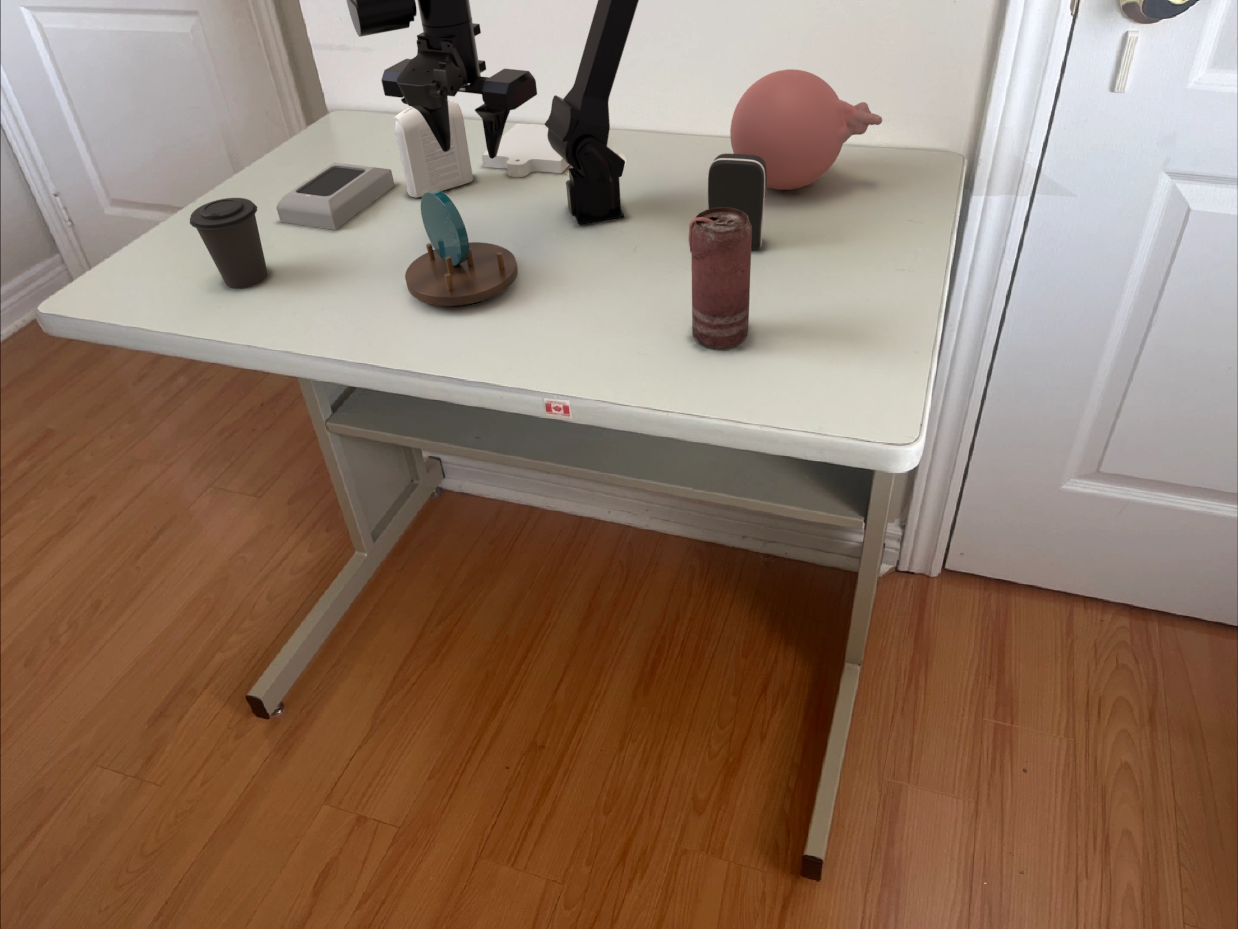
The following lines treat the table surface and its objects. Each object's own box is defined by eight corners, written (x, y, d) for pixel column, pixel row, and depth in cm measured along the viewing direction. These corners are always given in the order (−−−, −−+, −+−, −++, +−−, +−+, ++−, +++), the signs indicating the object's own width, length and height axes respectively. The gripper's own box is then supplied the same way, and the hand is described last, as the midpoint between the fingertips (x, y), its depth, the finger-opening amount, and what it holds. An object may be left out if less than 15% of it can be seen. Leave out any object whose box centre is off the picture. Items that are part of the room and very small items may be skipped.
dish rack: (539, 276, 112) (528, 197, 106) (442, 318, 106) (425, 237, 100) (480, 240, 121) (466, 164, 114) (387, 276, 115) (367, 199, 108)
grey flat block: (389, 161, 137) (328, 205, 126) (394, 185, 139) (335, 230, 129) (336, 155, 140) (272, 197, 129) (342, 178, 142) (280, 221, 132)
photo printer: (465, 173, 141) (451, 90, 133) (478, 182, 138) (464, 97, 130) (403, 192, 137) (384, 108, 129) (415, 201, 134) (396, 116, 126)
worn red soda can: (686, 324, 104) (684, 208, 95) (742, 318, 105) (745, 202, 96) (694, 354, 100) (693, 234, 91) (752, 348, 100) (757, 228, 91)
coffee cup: (219, 300, 115) (190, 226, 109) (209, 273, 121) (181, 201, 115) (284, 282, 118) (260, 208, 111) (271, 257, 124) (247, 185, 117)
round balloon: (868, 214, 122) (883, 96, 112) (719, 204, 127) (720, 90, 117) (877, 167, 133) (891, 55, 123) (740, 159, 138) (742, 52, 128)
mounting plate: (555, 180, 137) (553, 167, 136) (476, 173, 141) (474, 161, 139) (597, 134, 149) (596, 122, 148) (524, 129, 153) (522, 117, 152)
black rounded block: (766, 238, 119) (770, 151, 112) (761, 251, 116) (764, 163, 109) (712, 234, 121) (713, 148, 113) (706, 247, 118) (706, 160, 111)
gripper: (337, 35, 103) (370, 169, 113) (476, 47, 96) (498, 190, 107) (397, 7, 111) (423, 136, 121) (530, 17, 104) (546, 153, 114)
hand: (469, 153), depth 115 cm, fingers open, 7 cm apart
